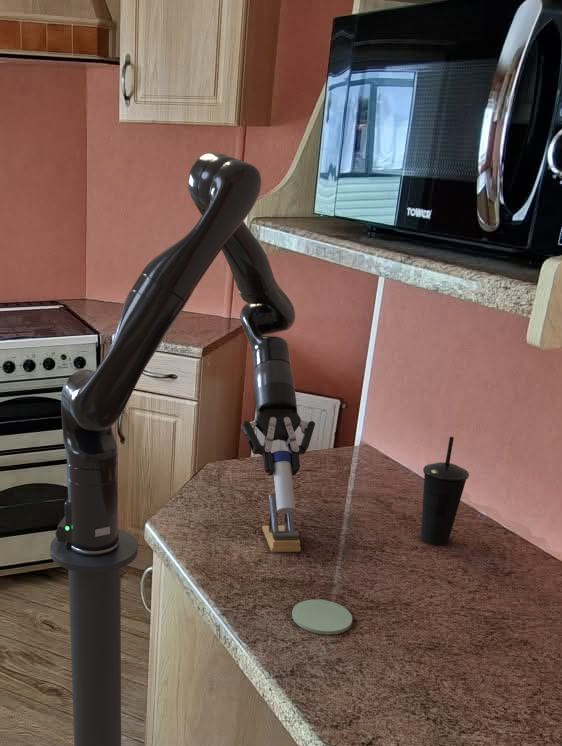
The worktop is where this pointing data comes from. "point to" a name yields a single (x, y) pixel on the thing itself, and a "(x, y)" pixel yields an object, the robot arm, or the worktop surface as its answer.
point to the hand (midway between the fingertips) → (282, 473)
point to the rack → (281, 531)
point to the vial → (283, 482)
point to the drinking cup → (441, 498)
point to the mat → (322, 616)
